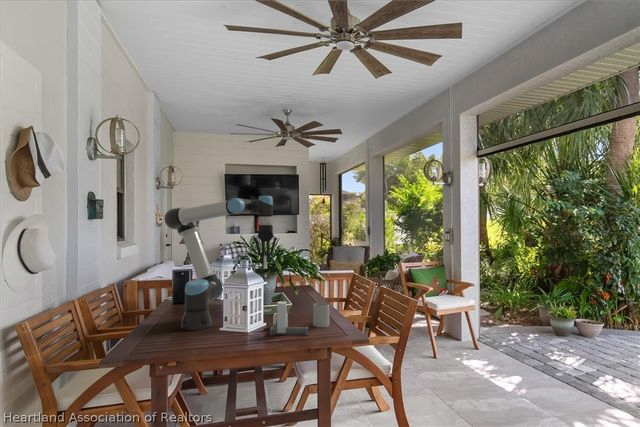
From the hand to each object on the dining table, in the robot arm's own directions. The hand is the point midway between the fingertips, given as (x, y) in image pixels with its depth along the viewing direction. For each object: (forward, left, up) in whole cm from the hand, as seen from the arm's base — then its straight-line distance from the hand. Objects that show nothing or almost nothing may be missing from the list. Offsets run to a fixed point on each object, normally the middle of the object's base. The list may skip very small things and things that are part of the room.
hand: (265, 268), depth 205 cm
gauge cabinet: (+9, -10, -29) cm, 32 cm away
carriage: (+10, -19, -28) cm, 36 cm away
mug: (+30, -2, -30) cm, 42 cm away
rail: (+14, -19, -29) cm, 38 cm away
